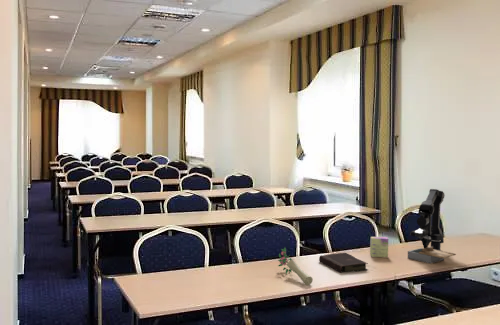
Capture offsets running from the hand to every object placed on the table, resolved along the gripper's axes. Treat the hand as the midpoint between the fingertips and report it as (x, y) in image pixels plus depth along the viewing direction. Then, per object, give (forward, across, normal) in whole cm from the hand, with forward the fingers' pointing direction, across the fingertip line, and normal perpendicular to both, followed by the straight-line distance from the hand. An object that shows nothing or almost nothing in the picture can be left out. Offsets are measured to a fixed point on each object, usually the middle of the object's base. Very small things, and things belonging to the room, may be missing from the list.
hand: (425, 249), depth 316 cm
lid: (+1, +8, 0) cm, 8 cm away
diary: (+7, -18, -53) cm, 57 cm away
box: (+6, -22, -17) cm, 28 cm away
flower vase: (+6, -20, -91) cm, 93 cm away
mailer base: (+6, 0, 0) cm, 6 cm away
